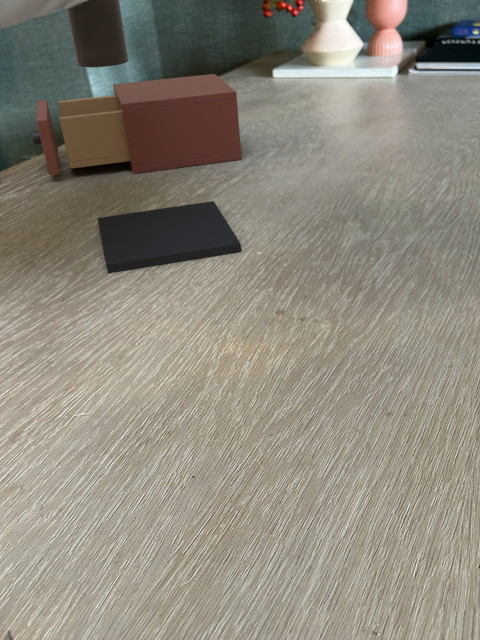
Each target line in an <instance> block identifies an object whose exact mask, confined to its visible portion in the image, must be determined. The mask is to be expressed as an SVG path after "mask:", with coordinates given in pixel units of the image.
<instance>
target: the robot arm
mask: <svg viewBox="0 0 480 640" xmlns="http://www.w3.org/2000/svg"><path fill="white" fill-rule="evenodd" d="M86 1H88V0H0V30H2V29H6V28H10V27H13V26H18V25H19V24H22V23H24V22H27V21H29V20H30V19H31V20H32V19H39V18H41V17H44V16H47V15H50V14H54V13H56V12H60V11H63V10H67V9H69V8H72V7H75V6H77V5H79V4H81V3H84V2H86Z"/></svg>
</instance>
